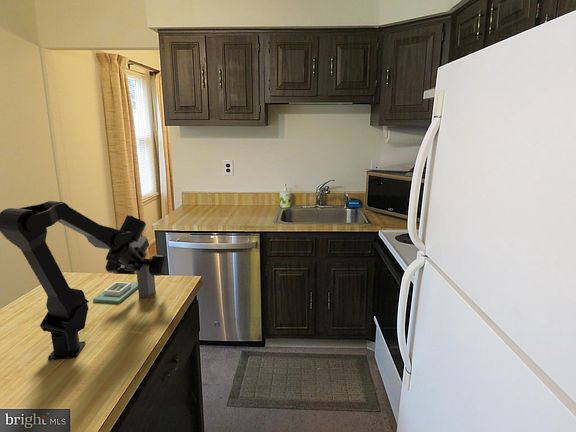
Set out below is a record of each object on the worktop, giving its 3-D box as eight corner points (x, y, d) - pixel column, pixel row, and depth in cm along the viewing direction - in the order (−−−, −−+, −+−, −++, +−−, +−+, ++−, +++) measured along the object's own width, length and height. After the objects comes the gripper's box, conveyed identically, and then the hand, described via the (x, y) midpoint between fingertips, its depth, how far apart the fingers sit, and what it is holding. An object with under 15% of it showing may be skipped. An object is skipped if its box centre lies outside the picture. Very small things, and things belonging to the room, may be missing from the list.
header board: (119, 303, 116) (118, 296, 115) (93, 301, 116) (92, 294, 116) (140, 285, 129) (140, 279, 128) (117, 284, 130) (116, 277, 129)
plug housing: (148, 297, 120) (145, 264, 117) (138, 297, 120) (135, 263, 117) (155, 291, 125) (153, 259, 122) (146, 290, 125) (143, 258, 122)
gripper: (162, 232, 112) (178, 253, 125) (106, 230, 113) (128, 251, 127) (153, 264, 106) (171, 283, 119) (94, 262, 108) (118, 280, 121)
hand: (147, 273), depth 122 cm, fingers open, 9 cm apart
